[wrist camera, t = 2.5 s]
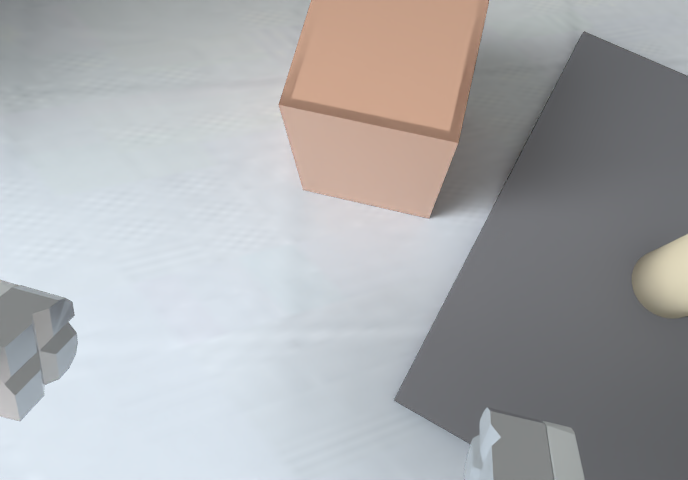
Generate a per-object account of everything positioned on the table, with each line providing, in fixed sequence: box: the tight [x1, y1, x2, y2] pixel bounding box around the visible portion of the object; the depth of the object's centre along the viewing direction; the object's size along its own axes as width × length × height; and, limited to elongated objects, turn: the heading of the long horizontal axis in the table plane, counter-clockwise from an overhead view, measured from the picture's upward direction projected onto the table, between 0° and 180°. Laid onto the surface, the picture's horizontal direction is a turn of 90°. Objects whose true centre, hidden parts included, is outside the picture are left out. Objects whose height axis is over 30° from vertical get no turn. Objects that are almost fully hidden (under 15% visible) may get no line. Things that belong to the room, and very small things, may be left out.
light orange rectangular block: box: [279, 0, 489, 218], centre depth 23 cm, size 6×6×8 cm
